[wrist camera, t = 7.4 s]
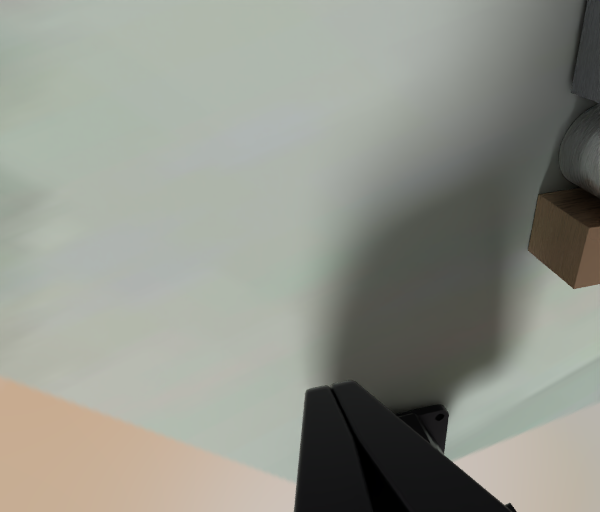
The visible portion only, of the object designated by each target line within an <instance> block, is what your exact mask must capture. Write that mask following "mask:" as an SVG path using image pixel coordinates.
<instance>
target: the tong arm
mask: <svg viewBox="0 0 600 512" xmlns="http://www.w3.org/2000/svg"><path fill="white" fill-rule="evenodd" d="M571 93H573V94H576V95H579V96H581V97H584V98H587V99H589V100H592V101H595V102H597V103H600V0H588V1H587V6H586V12H585V17H584V23H583V28H582V34H581V39H580V45H579V51H578V56H577V62H576V67H575V73H574V78H573V84H572V89H571Z"/></svg>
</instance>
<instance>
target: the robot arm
mask: <svg viewBox="0 0 600 512" xmlns="http://www.w3.org/2000/svg"><path fill="white" fill-rule="evenodd" d="M448 417H449V414H448V411H447V410H446V408H445V407H444V406H443V405H434V406H430V407H426V408H421V409H417V410H412V411H408V412H404V413H399V414H394V413H393V412H392V411H390V410H389V409H388V408H387V407H385V406H384V405H383V404H382V403H381V402H379V401H378V400H377V399H376V398H375V397H373V396H372V395H371V394H370V393H369V392H367V391H366V390H365V389H364V388H363V387H361V386H360V385H359V384H358V383H357V382H355V381H353V380H348V381H344V382H339V383H334V384H332V385H331V386H330V387H329V386H327V385H325V386H320V387H315V388H311V389H308V390H307V391H306V393H305V402H304V412H303V423H302V433H301V444H300V454H299V465H298V475H297V485H296V496H295V507H294V512H516V510H515V509H514V507H513V506H512V505H511V503H509V504H506V505H504V504H502V503H501V502H500V501H499V500H497V499H496V498H495V497H494V496H493V495H491V494H490V493H489V492H488V491H487V490H485V489H484V488H483V487H482V486H481V485H479V484H478V483H477V482H476V481H475V480H473V479H472V478H471V477H470V476H468V475H467V474H466V473H465V472H464V471H463V470H461V469H460V468H459V467H458V466H456V465H455V464H454V463H453V462H452V461H451V460H449V459H448V458H447V457H446V456H445V455H444V449H445V441H446V433H447V425H448Z"/></svg>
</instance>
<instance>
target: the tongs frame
mask: <svg viewBox="0 0 600 512" xmlns="http://www.w3.org/2000/svg"><path fill="white" fill-rule="evenodd" d="M559 166H560V169H561V172H562V174H563V175H564V176H565V178H566V179H568V180H569V181H571V182H572V183H574V184H576V185H577V186H579V187H581V188H575V189H569V190H563V191H556V192H550V193H544V194H539V195H538V200H537V206H536V211H535V216H534V221H533V227H532V232H531V237H530V243H529V248H528V251H529V252H530V253H532V254H533V255H534V256H535V257H536V258H537V259H539V260H540V261H541V262H542V263H543V264H545V265H546V266H547V267H548V268H549V269H551V270H552V271H553V272H554V273H555V274H557V275H558V276H559V277H560V278H561V279H562V280H564V281H565V282H566V283H567V284H568V285H570V286H571V287H572V288H573V289H576V288H581V287H587V286H592V285H597V284H600V104H597V105H595V106H593V107H591V108H590V109H588V110H587V111H585V112H584V113H583V114H581V115H580V116H579V117H578V118H577V119H576V120H575V122H574V123H573V124H572V125H571V127H570V128H569V129H568V131H567V133H566V134H565V136H564V139H563V141H562V144H561V147H560V151H559Z"/></svg>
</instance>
